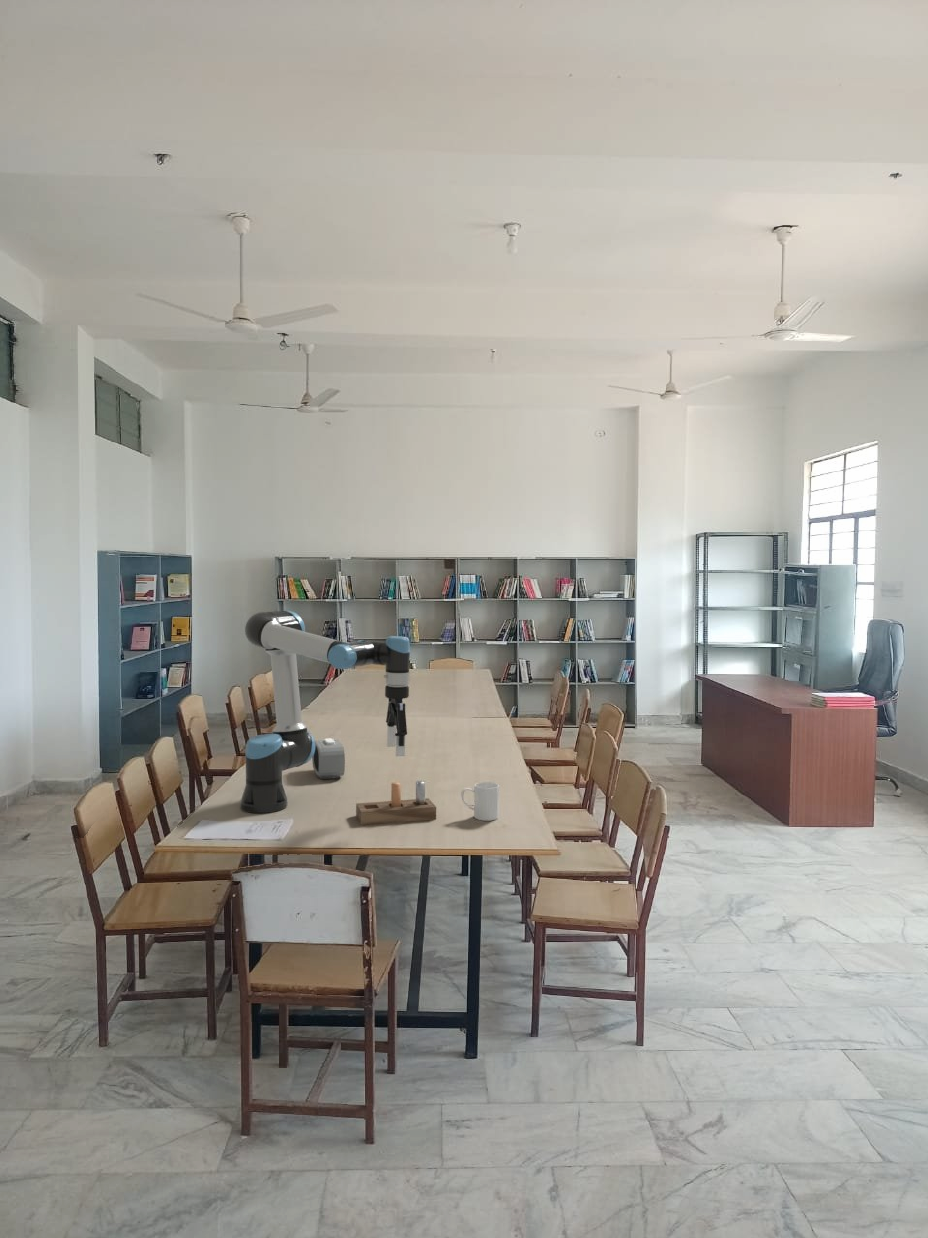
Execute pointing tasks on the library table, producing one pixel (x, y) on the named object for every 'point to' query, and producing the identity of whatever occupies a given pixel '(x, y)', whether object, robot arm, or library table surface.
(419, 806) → the hole block
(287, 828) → the library table surface
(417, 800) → the grey peg
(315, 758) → the alarm clock
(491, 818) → the mug
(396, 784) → the orange rounded rod
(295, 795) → the library table surface
